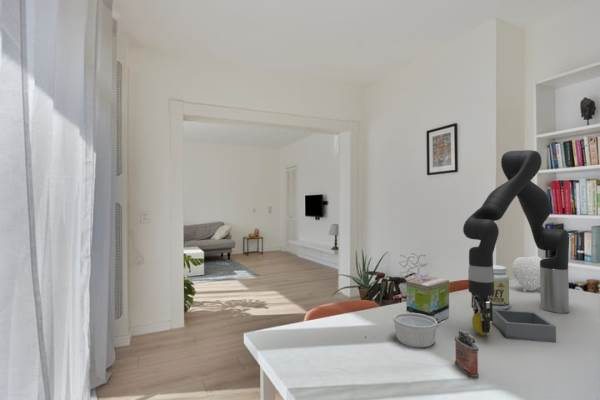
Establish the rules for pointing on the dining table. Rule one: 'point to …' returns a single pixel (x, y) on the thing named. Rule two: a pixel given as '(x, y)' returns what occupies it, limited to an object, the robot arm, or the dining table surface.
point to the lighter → (466, 354)
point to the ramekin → (415, 329)
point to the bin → (524, 325)
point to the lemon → (478, 323)
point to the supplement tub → (500, 289)
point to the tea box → (428, 297)
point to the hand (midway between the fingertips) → (481, 327)
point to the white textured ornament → (527, 272)
